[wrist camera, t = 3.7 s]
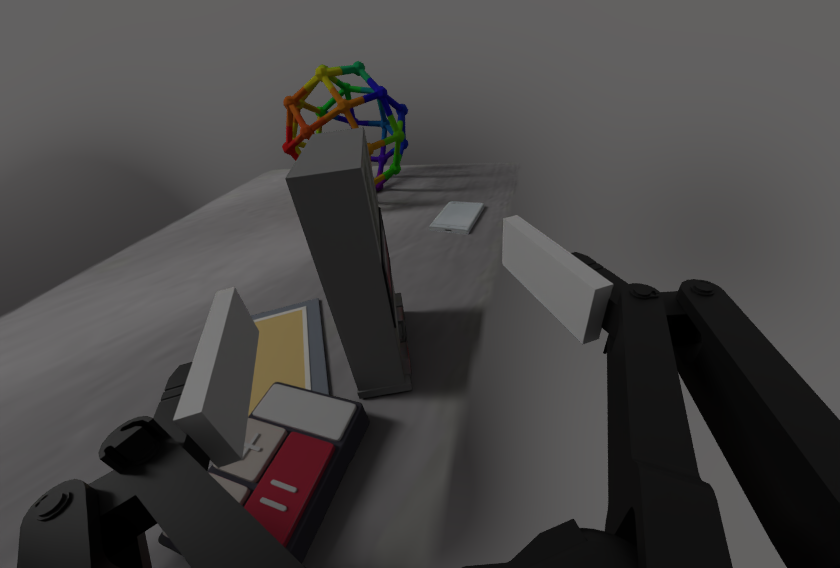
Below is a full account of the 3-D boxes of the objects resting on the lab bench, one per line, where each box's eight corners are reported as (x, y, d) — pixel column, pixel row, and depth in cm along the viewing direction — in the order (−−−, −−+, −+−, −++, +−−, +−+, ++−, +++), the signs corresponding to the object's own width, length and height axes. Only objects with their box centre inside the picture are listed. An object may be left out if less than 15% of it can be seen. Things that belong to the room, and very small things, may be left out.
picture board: (193, 456, 34) (190, 454, 34) (225, 324, 51) (223, 322, 50) (331, 411, 37) (329, 408, 36) (318, 299, 53) (317, 297, 53)
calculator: (148, 537, 26) (271, 375, 36) (180, 553, 28) (286, 398, 39) (262, 597, 22) (362, 398, 33) (286, 607, 25) (371, 421, 36)
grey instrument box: (414, 391, 38) (373, 166, 23) (360, 400, 38) (283, 179, 23) (404, 311, 49) (371, 125, 34) (362, 318, 49) (311, 134, 34)
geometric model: (225, 107, 72) (311, 44, 55) (316, 79, 92) (402, 25, 74) (301, 230, 86) (389, 211, 69) (366, 183, 106) (448, 159, 88)
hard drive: (448, 200, 77) (428, 225, 68) (484, 203, 74) (468, 229, 65) (449, 207, 78) (429, 232, 69) (484, 210, 75) (468, 236, 66)
